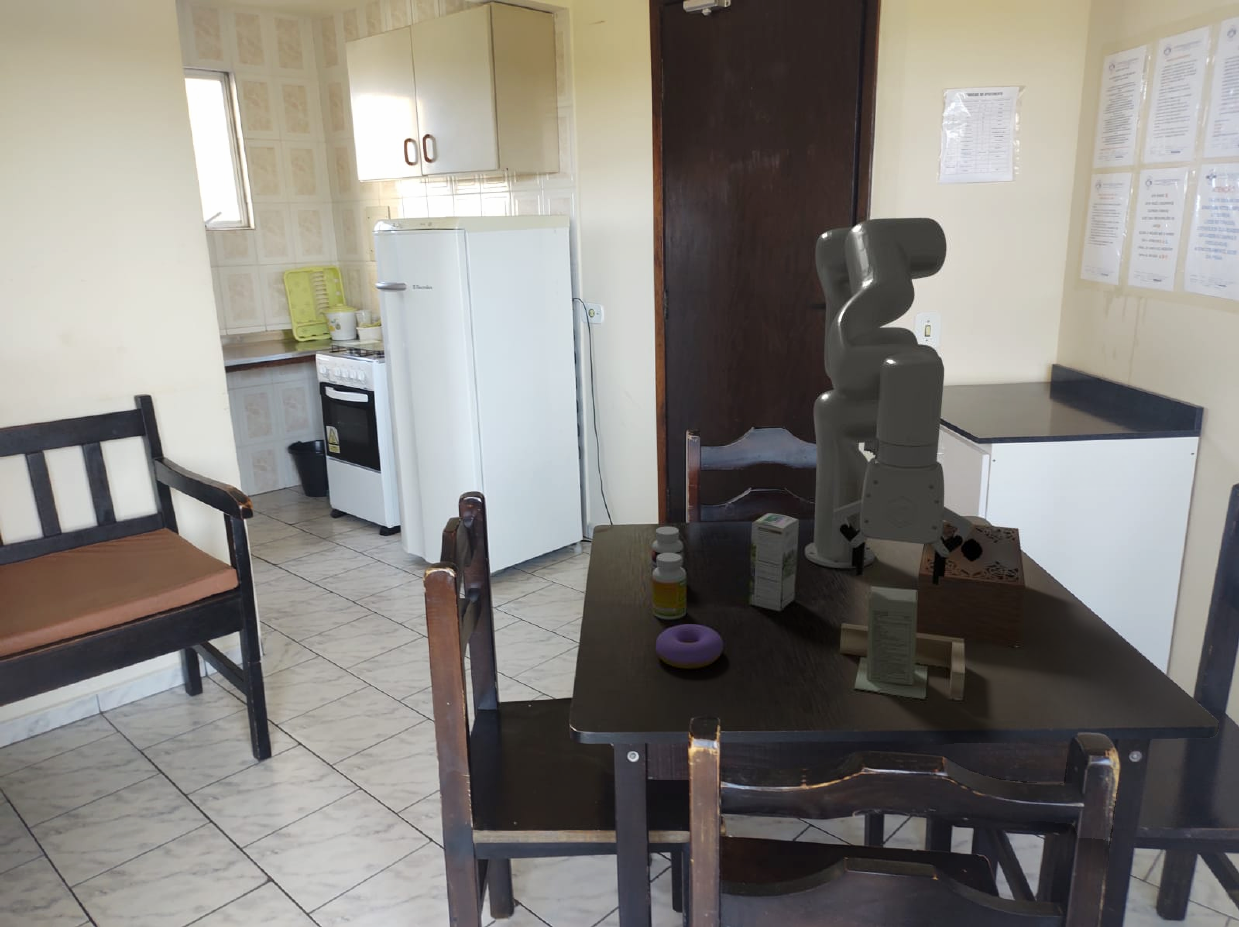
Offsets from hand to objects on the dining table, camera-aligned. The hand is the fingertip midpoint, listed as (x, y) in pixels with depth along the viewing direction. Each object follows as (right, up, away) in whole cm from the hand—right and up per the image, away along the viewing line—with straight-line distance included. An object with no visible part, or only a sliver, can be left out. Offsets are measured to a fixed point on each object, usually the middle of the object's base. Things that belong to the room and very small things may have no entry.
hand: (897, 576), depth 116 cm
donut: (-27, -13, +11) cm, 32 cm away
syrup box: (-12, -8, +28) cm, 31 cm away
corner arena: (+1, -14, +4) cm, 15 cm away
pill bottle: (-28, -6, +37) cm, 47 cm away
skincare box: (0, -14, +3) cm, 15 cm away
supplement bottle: (-29, -9, +25) cm, 39 cm away
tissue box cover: (+19, -9, +25) cm, 33 cm away
